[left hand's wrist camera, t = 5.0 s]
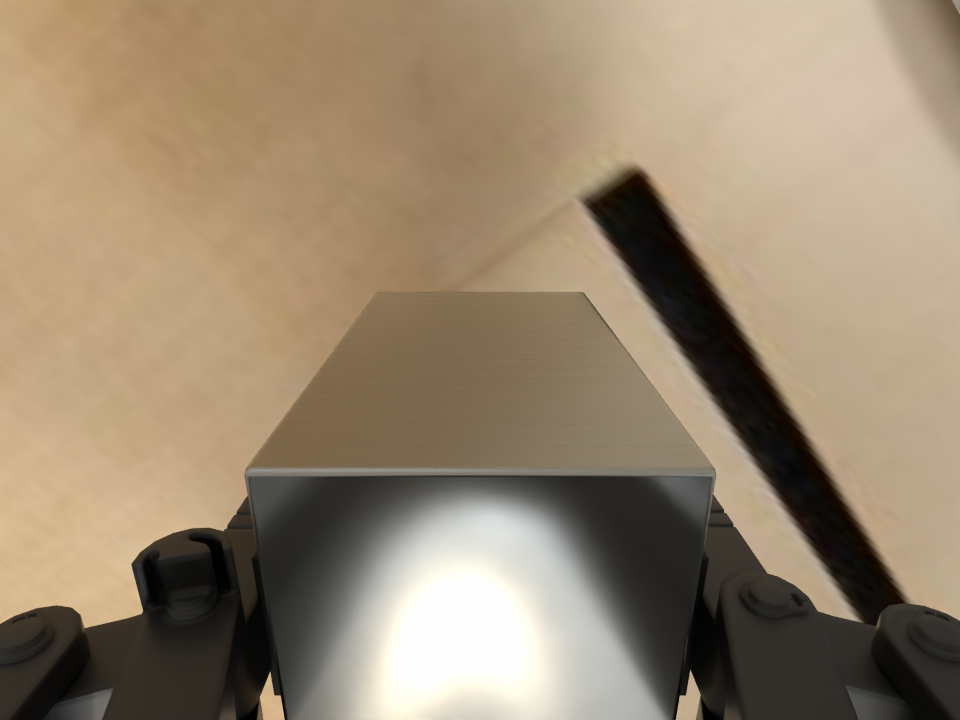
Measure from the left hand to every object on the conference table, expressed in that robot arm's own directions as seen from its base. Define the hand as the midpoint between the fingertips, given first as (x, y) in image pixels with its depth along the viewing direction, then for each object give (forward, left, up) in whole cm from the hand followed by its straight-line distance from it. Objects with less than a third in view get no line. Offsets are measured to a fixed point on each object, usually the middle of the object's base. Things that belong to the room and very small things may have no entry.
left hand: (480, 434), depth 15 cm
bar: (0, +7, -1) cm, 7 cm away
